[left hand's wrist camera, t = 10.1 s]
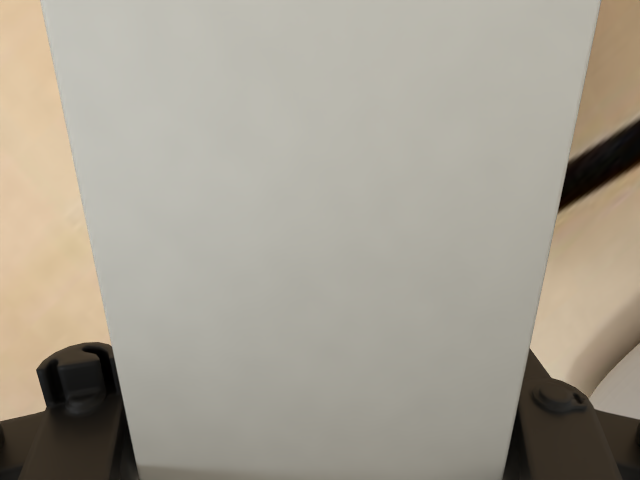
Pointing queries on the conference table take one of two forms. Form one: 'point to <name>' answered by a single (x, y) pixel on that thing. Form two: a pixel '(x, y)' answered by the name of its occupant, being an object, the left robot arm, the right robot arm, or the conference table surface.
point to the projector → (620, 388)
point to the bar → (320, 222)
